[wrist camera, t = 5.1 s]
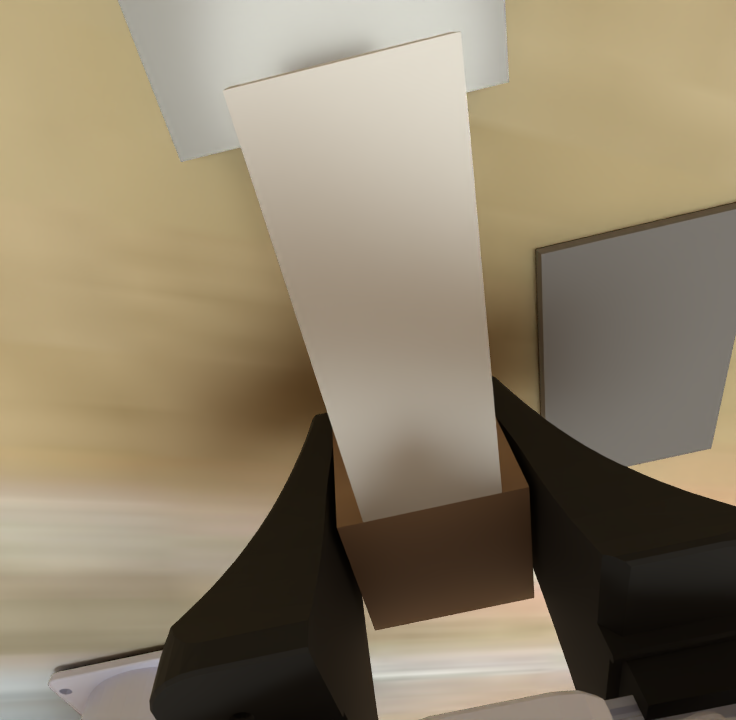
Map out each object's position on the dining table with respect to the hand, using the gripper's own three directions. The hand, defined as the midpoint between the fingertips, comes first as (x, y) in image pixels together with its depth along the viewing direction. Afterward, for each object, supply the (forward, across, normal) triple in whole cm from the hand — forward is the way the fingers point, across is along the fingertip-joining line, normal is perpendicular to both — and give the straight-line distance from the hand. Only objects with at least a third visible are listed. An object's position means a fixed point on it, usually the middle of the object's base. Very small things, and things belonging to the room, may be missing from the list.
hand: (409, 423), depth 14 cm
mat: (+2, -8, +1) cm, 8 cm away
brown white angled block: (+2, 0, -3) cm, 4 cm away
